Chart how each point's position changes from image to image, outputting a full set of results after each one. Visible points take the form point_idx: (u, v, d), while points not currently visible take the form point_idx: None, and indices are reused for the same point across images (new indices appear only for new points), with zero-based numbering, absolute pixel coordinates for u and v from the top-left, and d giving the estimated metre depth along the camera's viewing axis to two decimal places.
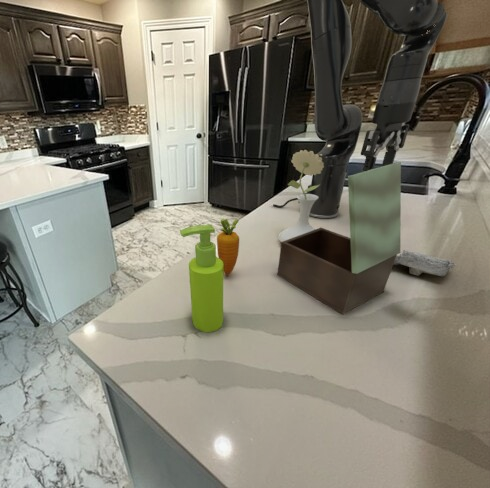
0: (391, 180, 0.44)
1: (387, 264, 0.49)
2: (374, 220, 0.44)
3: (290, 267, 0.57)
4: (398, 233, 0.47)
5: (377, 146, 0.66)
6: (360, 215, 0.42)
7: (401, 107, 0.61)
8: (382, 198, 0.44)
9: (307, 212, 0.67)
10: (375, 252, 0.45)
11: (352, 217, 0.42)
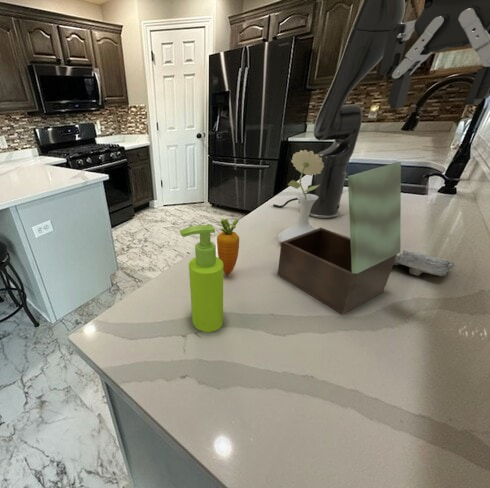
0: (391, 180, 0.44)
1: (387, 264, 0.49)
2: (374, 220, 0.44)
3: (290, 267, 0.57)
4: (398, 233, 0.47)
5: None
6: (360, 215, 0.42)
7: None
8: (382, 198, 0.44)
9: (307, 212, 0.67)
10: (375, 252, 0.45)
11: (352, 217, 0.42)
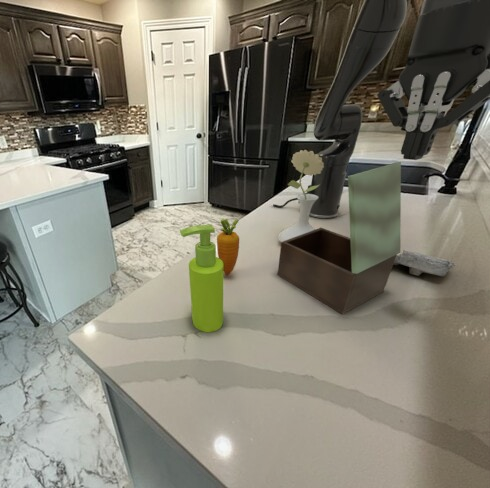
0: (391, 180, 0.44)
1: (387, 264, 0.49)
2: (374, 220, 0.44)
3: (290, 267, 0.57)
4: (398, 233, 0.47)
5: None
6: (360, 215, 0.42)
7: (418, 24, 0.32)
8: (382, 198, 0.44)
9: (307, 212, 0.67)
10: (375, 252, 0.45)
11: (352, 217, 0.42)
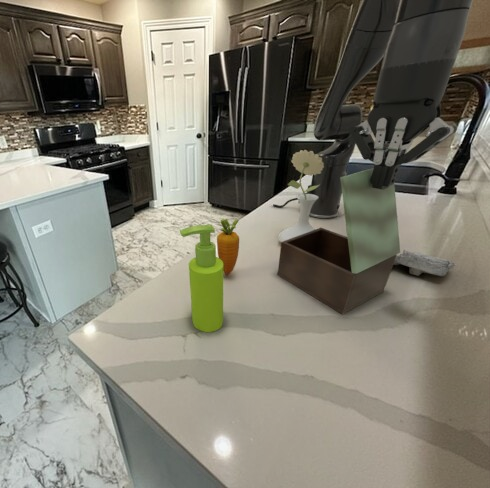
0: None
1: (387, 264, 0.49)
2: (371, 219, 0.44)
3: (290, 267, 0.57)
4: (396, 233, 0.47)
5: None
6: (355, 215, 0.43)
7: (380, 76, 0.37)
8: (377, 198, 0.45)
9: (307, 212, 0.67)
10: (374, 252, 0.45)
11: (347, 217, 0.43)
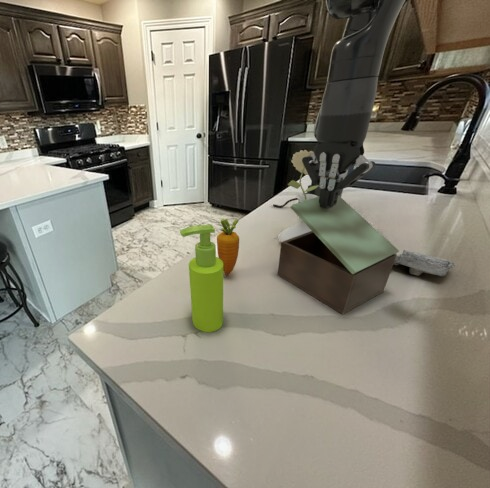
0: None
1: (387, 264, 0.49)
2: (340, 229, 0.50)
3: (290, 267, 0.57)
4: (380, 236, 0.50)
5: None
6: (320, 227, 0.49)
7: (319, 121, 0.46)
8: (336, 214, 0.52)
9: None
10: (364, 252, 0.47)
11: (314, 230, 0.49)
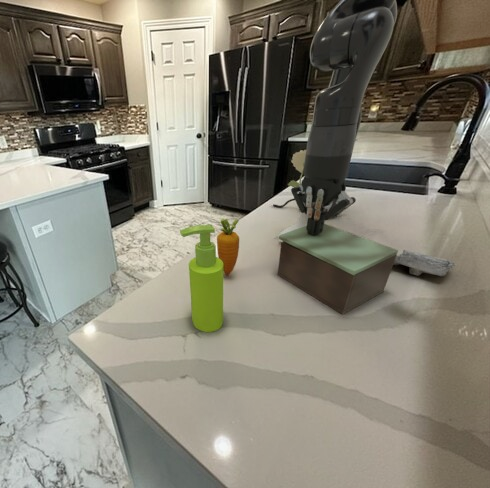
0: None
1: (387, 264, 0.49)
2: (330, 244, 0.52)
3: (290, 267, 0.57)
4: (373, 243, 0.51)
5: None
6: (309, 245, 0.53)
7: (305, 158, 0.50)
8: (323, 235, 0.56)
9: None
10: (359, 256, 0.48)
11: (304, 249, 0.52)
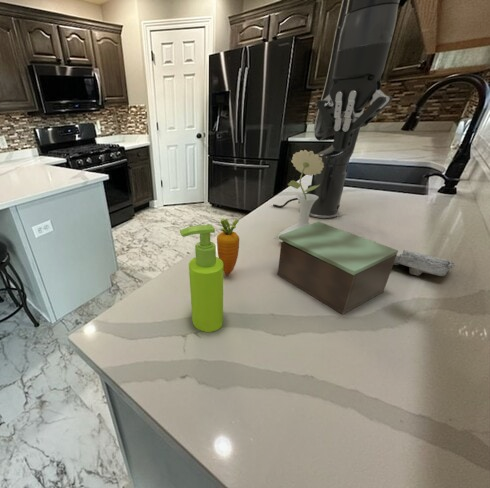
0: (320, 228, 0.59)
1: (387, 264, 0.49)
2: (330, 244, 0.52)
3: (290, 267, 0.57)
4: (373, 243, 0.51)
5: None
6: (309, 245, 0.53)
7: (336, 57, 0.46)
8: (323, 235, 0.56)
9: (307, 212, 0.67)
10: (359, 256, 0.48)
11: (304, 249, 0.52)
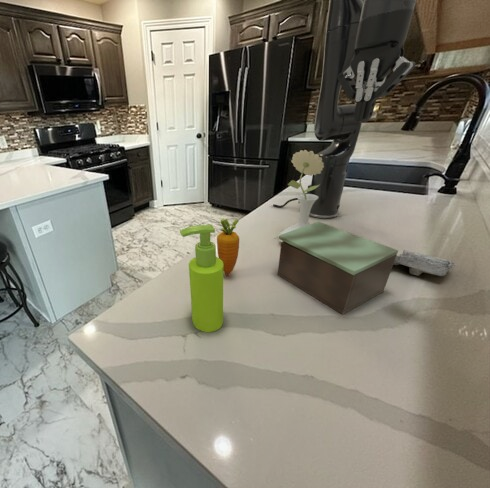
0: (320, 228, 0.59)
1: (387, 264, 0.49)
2: (330, 244, 0.52)
3: (290, 267, 0.57)
4: (373, 243, 0.51)
5: None
6: (309, 245, 0.53)
7: (359, 27, 0.48)
8: (323, 235, 0.56)
9: (307, 212, 0.67)
10: (359, 256, 0.48)
11: (304, 249, 0.52)
